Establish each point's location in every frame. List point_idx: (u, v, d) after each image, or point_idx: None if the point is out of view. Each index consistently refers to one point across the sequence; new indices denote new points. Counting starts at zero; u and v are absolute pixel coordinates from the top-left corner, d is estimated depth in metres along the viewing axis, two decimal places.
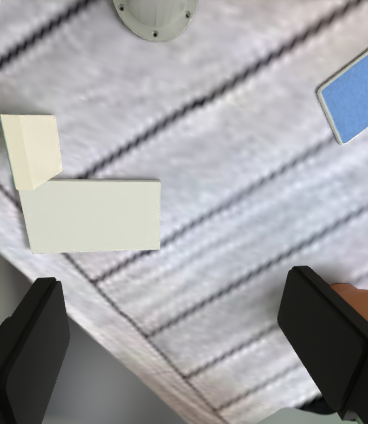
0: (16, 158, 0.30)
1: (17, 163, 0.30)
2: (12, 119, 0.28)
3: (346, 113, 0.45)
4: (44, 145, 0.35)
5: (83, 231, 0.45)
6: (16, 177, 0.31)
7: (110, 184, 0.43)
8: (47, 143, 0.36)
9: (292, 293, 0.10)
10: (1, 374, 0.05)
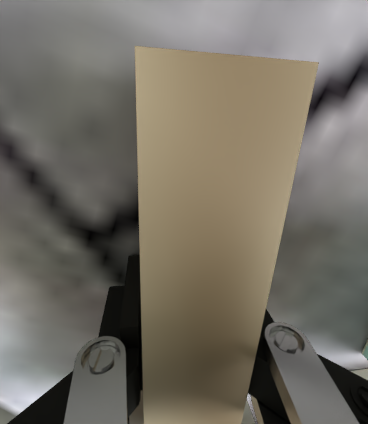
0: None
1: None
2: None
3: None
4: None
5: None
6: None
7: None
8: None
9: None
10: (140, 320, 0.07)
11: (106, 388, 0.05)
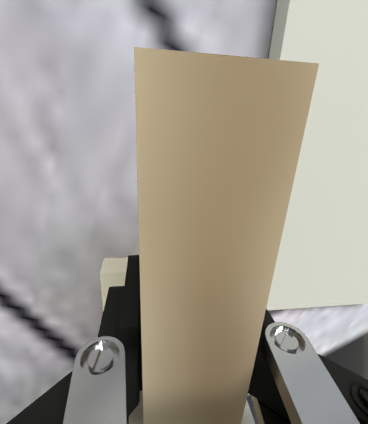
0: None
1: None
2: None
3: None
4: None
5: None
6: None
7: None
8: None
9: None
10: (139, 320, 0.07)
11: (105, 388, 0.05)
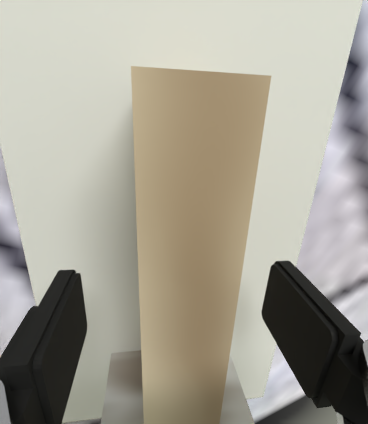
0: None
1: None
2: None
3: None
4: None
5: None
6: None
7: (26, 204, 0.10)
8: None
9: (274, 287, 0.10)
10: (36, 355, 0.06)
11: None
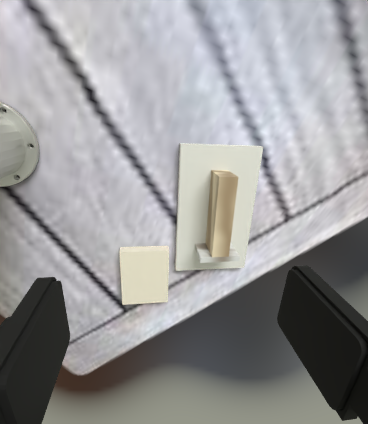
0: None
1: None
2: None
3: None
4: (142, 279, 0.47)
5: None
6: None
7: (181, 196, 0.42)
8: (141, 274, 0.46)
9: (292, 293, 0.10)
10: (1, 375, 0.05)
11: None
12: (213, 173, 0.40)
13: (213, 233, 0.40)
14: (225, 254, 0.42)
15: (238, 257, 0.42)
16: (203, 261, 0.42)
